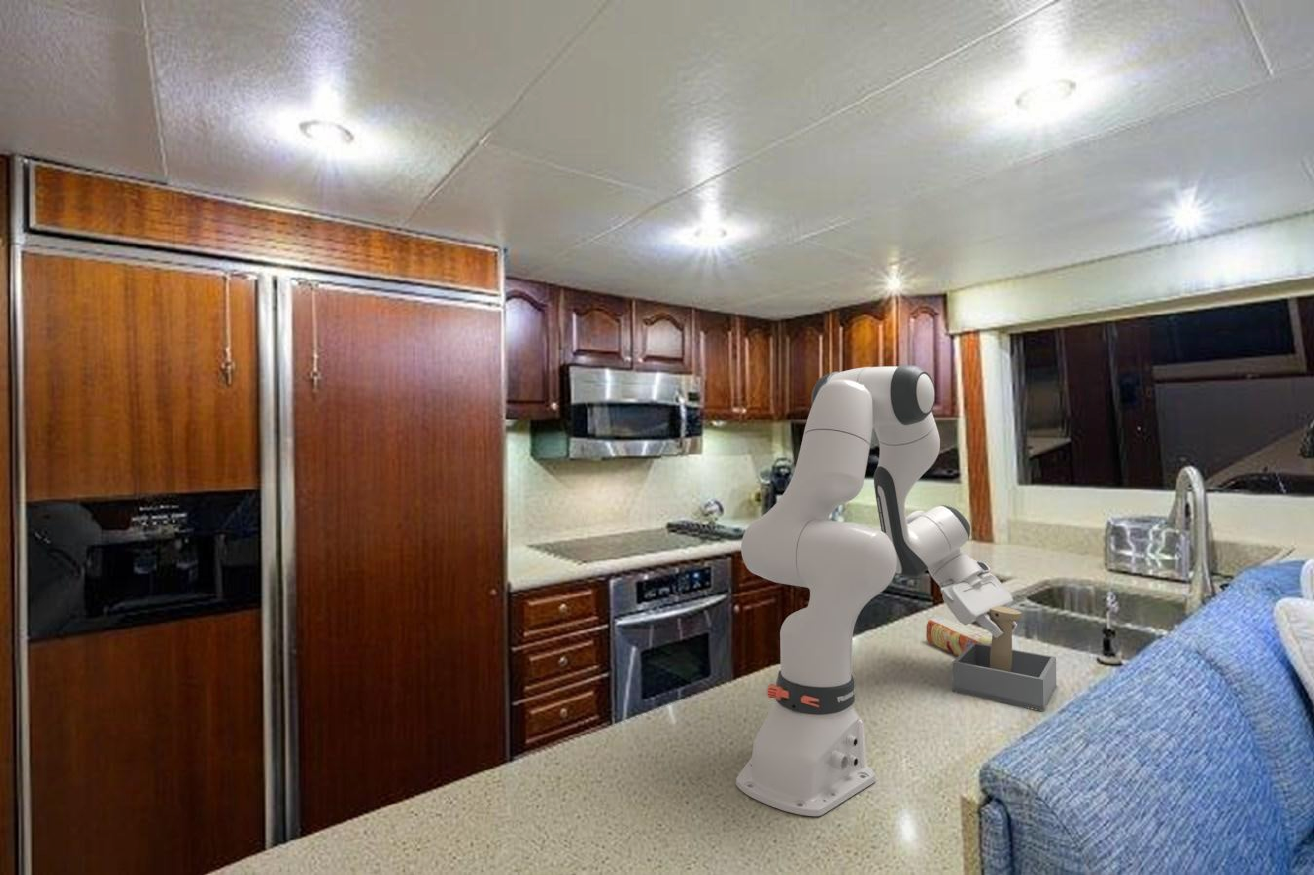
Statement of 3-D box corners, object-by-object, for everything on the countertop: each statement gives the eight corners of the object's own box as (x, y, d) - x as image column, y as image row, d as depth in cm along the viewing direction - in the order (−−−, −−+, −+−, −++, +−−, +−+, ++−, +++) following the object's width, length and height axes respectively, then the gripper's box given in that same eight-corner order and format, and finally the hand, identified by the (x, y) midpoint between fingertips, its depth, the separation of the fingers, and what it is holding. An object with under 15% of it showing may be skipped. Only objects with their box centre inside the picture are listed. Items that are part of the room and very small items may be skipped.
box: (1043, 711, 122) (1042, 679, 122) (952, 691, 132) (952, 662, 132) (1056, 685, 134) (1056, 657, 134) (972, 669, 144) (972, 642, 144)
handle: (991, 674, 136) (994, 604, 136) (1021, 686, 131) (1025, 612, 131) (977, 678, 134) (981, 606, 134) (1008, 690, 128) (1012, 615, 128)
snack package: (1011, 671, 143) (1010, 640, 143) (985, 674, 142) (985, 643, 142) (947, 642, 164) (946, 615, 164) (924, 644, 163) (923, 617, 163)
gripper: (946, 575, 131) (997, 634, 124) (989, 562, 145) (1037, 614, 137) (925, 593, 135) (974, 651, 127) (969, 578, 148) (1015, 630, 141)
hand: (1007, 632), depth 132 cm, fingers open, 5 cm apart
